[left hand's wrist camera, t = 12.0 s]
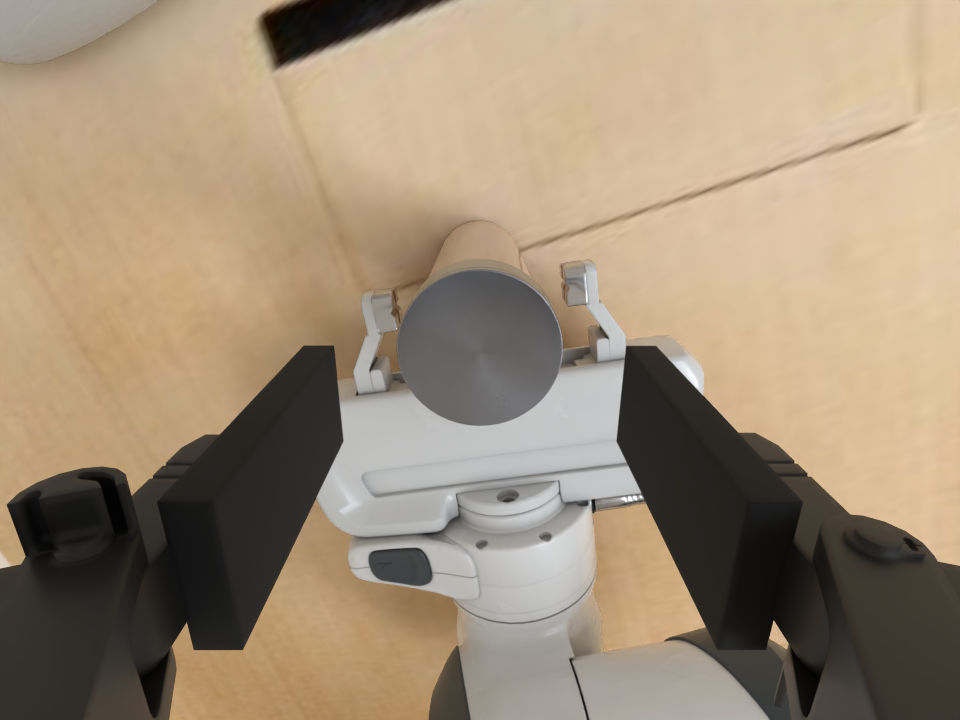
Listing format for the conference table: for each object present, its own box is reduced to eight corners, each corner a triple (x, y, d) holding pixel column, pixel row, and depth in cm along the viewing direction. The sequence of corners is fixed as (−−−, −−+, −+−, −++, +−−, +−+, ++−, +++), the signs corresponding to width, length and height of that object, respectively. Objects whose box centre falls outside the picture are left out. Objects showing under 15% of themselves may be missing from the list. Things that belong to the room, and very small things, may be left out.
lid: (373, 331, 19) (362, 349, 17) (482, 224, 17) (482, 232, 16) (477, 428, 20) (477, 454, 18) (586, 335, 19) (597, 354, 17)
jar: (422, 261, 32) (374, 345, 17) (481, 202, 30) (482, 241, 16) (478, 317, 33) (477, 440, 19) (537, 263, 32) (584, 349, 17)
